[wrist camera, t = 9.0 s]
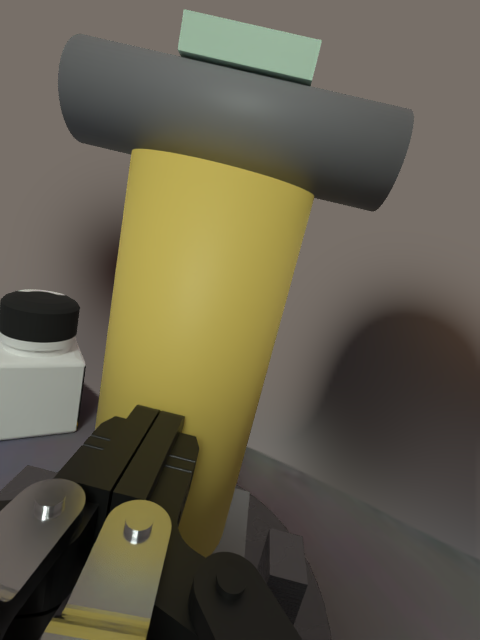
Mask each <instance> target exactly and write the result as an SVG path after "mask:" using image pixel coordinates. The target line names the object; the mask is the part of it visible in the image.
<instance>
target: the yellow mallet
mask: <svg viewBox="0 0 480 640" xmlns="http://www.w3.org/2000/svg"><path fill="white" fill-rule="evenodd" d="M321 42H322V40H318V39H313V38H309V37H304V36H300V35H295V34H291V33H287V32H282V31H278V30H273V29H268V28H264V27H260V26H255V25H251V24H247V23H242V22H238V21H233V20H229V19H225V18H220V17H215V16H211V15H206V14H202V13H198V12H193V11H189V10H185V9H184V13H183V19H182V25H181V32H180V39H179V45H178V51H179V53H180V55H181V57H180V56H175V55H171V54H166V53H161V52H157V51H153V50H149V49H145V48H140V47H135V46H131V45H127V44H123V43H118V42H114V41H110V40H105V39H101V38H96V37H92V36H88V35H83V34H77V35H74V36H73V37H71V38H70V40H69V41H68V42H67V44H66V45H65V47H64V50H63V53H62V56H61V60H60V65H59V73H58V91H59V100H60V106H61V110H62V114H63V117H64V120H65V123H66V125H67V127H68V129H69V131H70V133H71V134H72V135H73V137H74V138H75V139H76V140H78V141H79V142H81V143H85V144H89V145H93V146H97V147H102V148H106V149H110V150H114V151H118V152H123V153H127V154H131V160H130V161H131V162H130V168H129V176H128V184H127V191H126V199H125V206H124V213H123V221H122V229H121V236H120V244H119V251H118V259H117V266H116V274H115V282H114V289H113V297H112V305H111V312H110V320H109V327H108V334H107V342H106V350H105V357H104V365H103V372H102V380H101V387H100V395H99V403H98V410H97V418H96V425H95V430H96V429H97V427H98V426H99V425H100V424H101V423H103V422H105V421H107V420H109V419H111V418H113V417H114V416H118V417H121V418H125V419H126V418H127V417H128V416H129V414H130V413H131V412H132V410H133V409H134V408H135V406H136V405H142V406H146V407H150V408H154V409H158V410H161V411H166V412H170V413H174V414H178V415H182V416H185V419H184V425H183V429H182V433H184V434H188V435H192V436H196V438H197V442H198V445H199V453H198V457H197V461H196V465H195V470H194V474H193V478H192V482H191V486H190V491H189V494H188V497H187V500H186V504H185V507H184V510H183V513H182V516H181V520H180V523H179V526H178V529H179V532H180V534H181V536H182V538H183V540H184V541H185V542H186V543H187V544H188V545H189V546H190V547H191V548H192V549H193V550H195V551H196V552H198V553H199V554H201V555H202V556H204V557H205V558H206V557H207V556H209V555H211V554H214V553H217V552H232V553H235V554H238V555H241V556H242V557H244V555H245V543H246V531H247V519H248V507H249V495H250V492H248V491H244V490H240V489H236V488H235V487H236V483H237V479H238V476H239V472H240V468H241V465H242V461H243V457H244V454H245V450H246V446H247V443H248V439H249V435H250V431H251V427H252V424H253V420H254V417H255V413H256V409H257V406H258V402H259V398H260V395H261V391H262V387H263V383H264V380H265V376H266V373H267V369H268V365H269V362H270V358H271V354H272V350H273V347H274V343H275V340H276V336H277V332H278V328H279V325H280V321H281V318H282V314H283V310H284V307H285V303H286V299H287V295H288V292H289V288H290V285H291V281H292V277H293V274H294V270H295V266H296V262H297V259H298V255H299V252H300V248H301V244H302V240H303V237H304V233H305V229H306V226H307V222H308V218H309V215H310V211H311V207H312V204H313V200H314V198H317V199H322V200H326V201H330V202H334V203H339V204H343V205H347V206H351V207H356V208H360V209H364V210H368V211H376V210H377V209H378V208H379V207H380V206H381V205H382V204H383V202H384V201H385V199H386V198H387V196H388V194H389V192H390V191H391V189H392V187H393V185H394V183H395V181H396V178H397V176H398V174H399V172H400V169H401V167H402V164H403V161H404V159H405V156H406V153H407V149H408V146H409V143H410V139H411V134H412V129H413V122H414V116H413V111H412V110H411V109H407V108H402V107H398V106H394V105H389V104H385V103H381V102H376V101H372V100H368V99H363V98H359V97H354V96H350V95H346V94H340V93H337V92H333V91H328V90H324V89H319V88H315V87H311V82H312V78H313V74H314V70H315V66H316V62H317V58H318V54H319V50H320V46H321ZM247 560H248V559H247ZM72 592H73V591H72Z"/></svg>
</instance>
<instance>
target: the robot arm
mask: <svg viewBox="0 0 480 640" xmlns="http://www.w3.org/2000/svg"><path fill="white" fill-rule="evenodd" d="M184 419H185V416H182V415H178V414H174V413H170V412H166V411H161V410H158V409H154V408H150V407H146V406H142V405H136V406H135V408H134V409H133V410H132V412H131V413H130V414H129V416H128V417H127V418H126V419H125V418H121V417H118V416H114V417H113V418H111V419H109V420H107V421H105V422H103V423H101V424H100V425H99V426H98V427H97V429H96V430H95V431H94V432H93V433H92V435H91V436H90V437H89V438H88V439H87V440H86V441H85V442H84V444H83V446H81V447H80V448H79V449H78V450H77V452H76V453H75V454H74V455H73V456H72V457H71V458H70V460H69V461H68V462H67V463H66V464H65V465H64V467H63V468H62V469H61V470H60V471H59V472H58V473H57V475H56V476H55V477H54V478H53V479H47V480H43V481H40V482H37V483H34V484H32V485H30V486H29V487H27V488H25V489H24V490H23V491H22V492H20V493H19V494H18V495H17V496H16V497H15V498H14V499H13V500H3V501H0V640H302V638H301V637H300V635H299V634H298V632H297V631H296V629H295V627H294V626H293V624H292V623H291V621H290V620H289V618H288V617H287V615H286V613H285V612H284V610H283V609H282V607H281V606H280V604H279V603H278V601H277V599H276V598H275V596H274V595H273V593H272V592H271V590H270V589H269V587H268V585H267V584H266V582H265V581H264V579H263V578H262V576H261V575H260V573H259V572H258V570H257V569H256V567H255V566H254V565H253V564H252V563H251V562H250V561H248V560H247V559H246V558H244V557H242V556H241V555H238V554H235V553H232V552H217V553H214V554H211V555H209V556H207V557H206V558H205V557H204V556H202V555H201V554H199V553H198V552H196V551H195V550H193V549H192V548H191V547H190V546H189V545H188V544H187V543H186V542H185V541H184V540H183V538H182V536H181V534H180V532H179V529H178V526H179V523H180V520H181V516H182V513H183V510H184V507H185V504H186V500H187V497H188V494H189V491H190V486H191V482H192V478H193V474H194V470H195V465H196V461H197V457H198V453H199V445H198V442H197V438H196V436H192V435H188V434H184V433H182V429H183V425H184ZM72 591H73V592H72Z"/></svg>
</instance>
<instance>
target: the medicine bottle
mask: <svg viewBox="0 0 480 640" xmlns="http://www.w3.org/2000/svg"><path fill="white" fill-rule="evenodd" d="M79 309H80V307H79V305H78V303H77V302H76V301H75V300H73V299H71V298H70V297H68V296H66V295H63V294H60V293H56V292H52V291H45V290H19V291H15V292H12V293H9V294H6V295H5V296H4V297H3V298H2V299H1V302H0V441H2V440H10V439H19V438H28V437H37V436H45V435H54V434H63V433H72V432H75V431H76V430H77V428H78V420H79V413H80V405H81V398H82V391H83V383H84V376H85V368H86V363H85V361H84V358H83V356H82V353H81V351H80V349H79V346H78V344H77V342H76V334H77V326H78V318H79Z"/></svg>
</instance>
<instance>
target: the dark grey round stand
mask: <svg viewBox="0 0 480 640" xmlns="http://www.w3.org/2000/svg"><path fill="white" fill-rule="evenodd" d="M57 473H58V472H52V471H48V470H44V469H40V468H37V467H33V466H29V465H27V466H26V467H25V468H24V469H23V470H22V471H21V472H20V473H19V474H18V475H17V476H16V477H15V478H14V479H13V480H12V481H10V482H9V483H8V484H7V485H6V486H5V487H4V488H3V489H2V490H1V491H0V501H3V500H13V499H14V498H15V497H16V496H17V495H18V494H19V493H20V492H22V491H23V490H24V489H25V488H27V487H29V486H30V485H32V484H34V483H37V482H40V481H43V480H47V479H53V478H54V477H55V476H56V475H57ZM235 488H236V489H240V490H244V489H243V488H241V487H240V486H238V485H236V487H235ZM244 491H246V490H244ZM244 558H246V559H248V561H250V562H251V563H252V564H253V565H254V566H255V567H256V569H257V570H258V572H259V573H260V575H261V576H262V578H263V579H264V581H265V582H266V584H267V585H268V587H269V589H270V590H271V592H272V593H273V595H274V596H275V598H276V599H277V601H278V603H279V604H280V606H281V607H282V609H283V610H284V612H285V613H286V615H287V617H288V618H289V620H290V621H291V623H292V624H293V626H294V627H295V629H296V631H297V632H298V634H299V635H300V637H301V638H302V640H331V634H330V628H329V623H328V619H327V614H326V609H325V605H324V602H323V599H322V596H321V593H320V590H319V587H318V584H317V581H316V579H315V577H314V574H313V572H312V570H311V568H310V566H309V563H308V561H307V560H306V558H305V554H304V546H303V537H302V536H299V535H295V534H291V533H289V532H288V530H287V529H286V527H285V526H284V525H283V524H282V523H281V522H280V521H279V520H278V518H277V517H276V516H275V515H274V514H273V513H272V512H271V511H270V510H269V509H268V508H267V507H266V506H265V505H263V504H262V503H261V502H260V501H259V500H258V499H256V498H255V497H254V496H252V495H251V494H250V495H249V507H248V519H247V531H246V543H245V555H244Z"/></svg>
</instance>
